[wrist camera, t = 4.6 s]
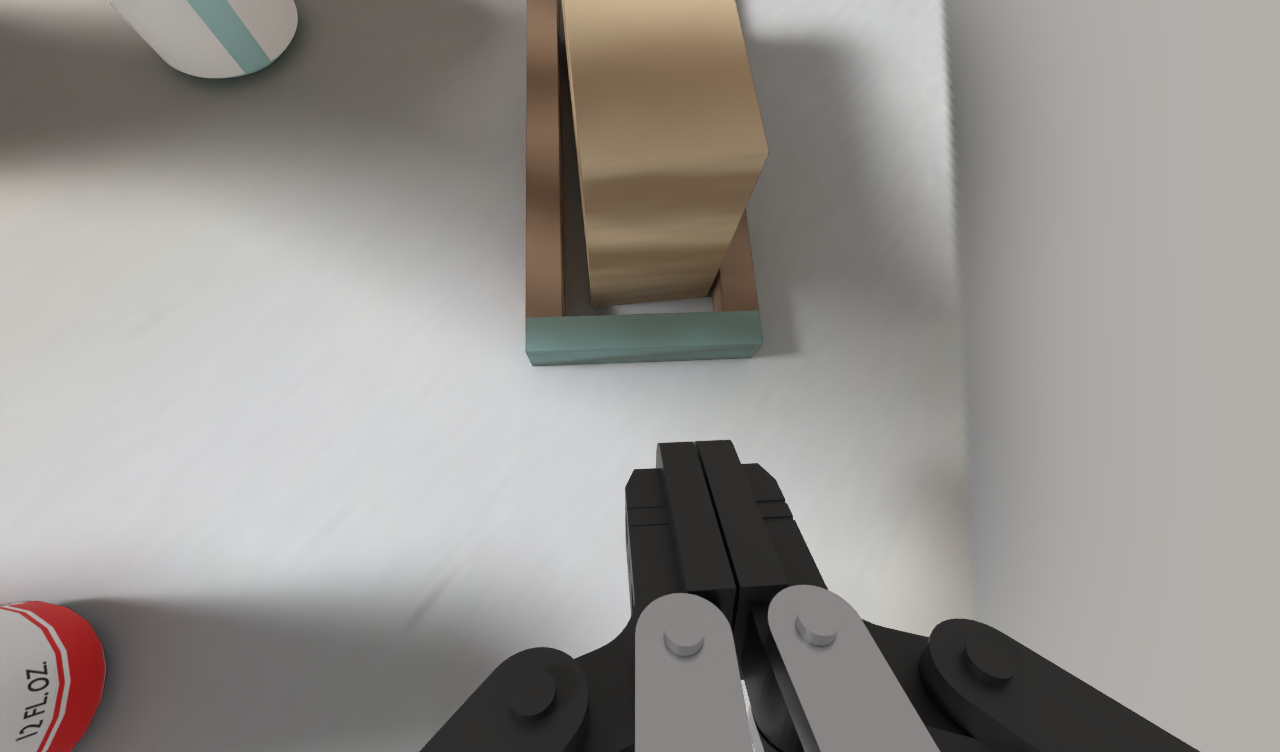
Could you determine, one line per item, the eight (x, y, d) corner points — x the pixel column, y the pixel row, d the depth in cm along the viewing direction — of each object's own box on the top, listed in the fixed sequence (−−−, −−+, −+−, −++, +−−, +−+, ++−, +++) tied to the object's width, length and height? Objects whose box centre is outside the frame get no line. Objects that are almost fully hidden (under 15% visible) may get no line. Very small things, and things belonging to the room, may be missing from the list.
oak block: (706, 297, 25) (769, 152, 15) (592, 307, 24) (581, 164, 15) (662, 39, 29) (689, -202, 19) (565, 42, 28) (543, -203, 19)
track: (750, 357, 24) (763, 343, 22) (532, 365, 23) (525, 351, 21) (700, -46, 31) (707, -84, 29) (532, -49, 30) (527, -88, 28)
